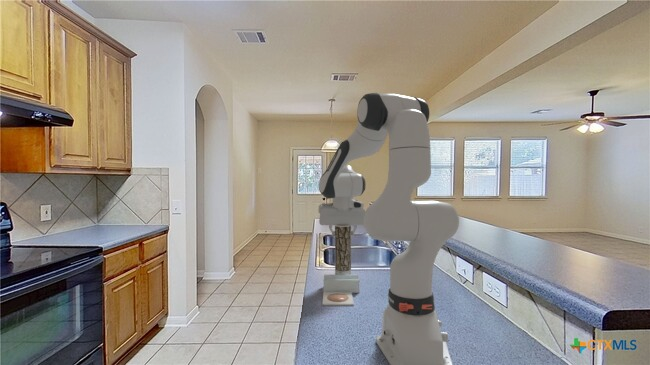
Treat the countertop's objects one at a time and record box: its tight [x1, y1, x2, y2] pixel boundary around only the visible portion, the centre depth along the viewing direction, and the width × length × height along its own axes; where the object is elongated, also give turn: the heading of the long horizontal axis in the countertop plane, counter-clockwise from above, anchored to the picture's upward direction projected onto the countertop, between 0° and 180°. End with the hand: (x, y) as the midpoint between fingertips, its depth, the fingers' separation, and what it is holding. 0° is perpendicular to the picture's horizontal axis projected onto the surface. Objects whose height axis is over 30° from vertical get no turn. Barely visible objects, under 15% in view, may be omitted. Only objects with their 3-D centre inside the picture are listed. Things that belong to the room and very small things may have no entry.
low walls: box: [323, 274, 360, 294], centre depth 128 cm, size 7×14×5 cm, turn 88°
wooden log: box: [334, 225, 352, 275], centre depth 136 cm, size 7×7×25 cm
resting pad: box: [322, 291, 355, 307], centre depth 118 cm, size 11×11×1 cm
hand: (342, 235), depth 136 cm, fingers closed on wooden log, 7 cm apart
